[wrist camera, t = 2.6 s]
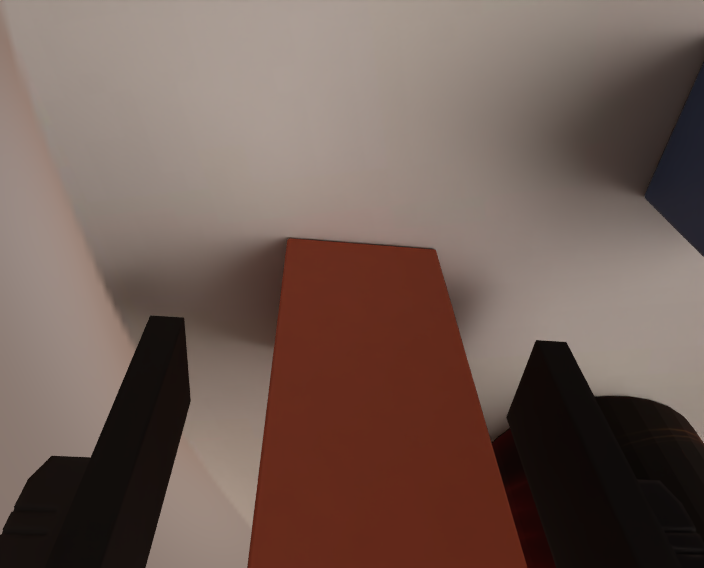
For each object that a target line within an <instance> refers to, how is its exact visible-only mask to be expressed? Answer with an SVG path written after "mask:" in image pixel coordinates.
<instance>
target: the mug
mask: <svg viewBox="0 0 704 568" xmlns="http://www.w3.org/2000/svg"><path fill="white" fill-rule="evenodd" d="M595 399H596V401H597V403H598V405H599V407H600V409H601V410H602V412H603V414H604V416H605V418H606V420H607V422H608V424H609V426H610V428H611V430H612V432H613V434H614V436H615V438H616V440H617V441H618V443H619V445H620V447H621V449H622V451H623V453H624V455H625V457H626V459H627V461H628V463H629V465H630V467H631V469H632V471H633V472H634V474H635V476H636V478H637V479H638V480H660V481H661V482H662V483H663V484H664V485H665V486H666V487H667V488H668V490H669V491H670V492H671V493H672V494H673V495H674V496H675V497H676V498H677V499H678V500H679V501H680V502H681V503H682V504H683V506H684V508H685V510H686V511H687V513H688V515H689V517H690V518H691V520H692V522H693V524H694V525H695V527H696V533H697V534H700V536H701V538H702V540H703V541H704V443H703V442H702V440H701V439H700V437H699V436H698V434H697V433H696V431H695V430H694V428H693V427H692V426H691V425H690V423H689V422H688V421H687V420H686V419H685V417H683V416H682V415H680V414H679V413H677V412H676V411H674V410H673V409H671V408H670V407H667V406H664V405H662V404H659V403H656V402H654V401H650V400H644V399H638V398H632V397H600V398H595ZM492 447H493V450H494V454H495V457H496V461H497V464H498V468H499V471H500V475H501V478H502V482H503V485H504V488H505V492H506V495H507V499H508V502H509V506H510V509H511V513H512V516H513V520H514V523H515V527H516V530H517V534H518V537H519V540H520V544H521V547H522V551H523V554H524V558H525V561H526V565H527V568H556V566H555V562H554V559H553V556H552V553H551V550H550V547H549V544H548V541H547V538H546V535H545V532H544V529H543V526H542V523H541V520H540V517H539V514H538V511H537V508H536V505H535V502H534V499H533V496H532V493H531V490H530V487H529V484H528V481H527V478H526V475H525V472H524V469H523V466H522V463H521V460H520V457H519V454H518V451H517V448H516V445H515V442H514V439H513V436H512V433H511V429H509V430H507V431H506V432H505V433H503V434H502V435H501V436H499V437H498V438H497V439H496V440H495V441H494V442H493V443H492Z"/></svg>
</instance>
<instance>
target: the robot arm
mask: <svg viewBox="0 0 704 568" xmlns="http://www.w3.org/2000/svg"><path fill="white" fill-rule="evenodd" d="M190 401H191V399H190V386H189V373H188V360H187V347H186V334H185V321H184V318H182V317H167V316H151V315H150V317H149V320H148V322H147V324H146V327H145V329H144V332H143V334H142V336H141V339H140V341H139V344H138V346H137V348H136V351H135V353H134V356H133V358H132V360H131V363H130V365H129V367H128V370H127V372H126V375H125V377H124V380H123V382H122V384H121V387H120V389H119V391H118V394H117V396H116V399H115V401H114V403H113V406H112V408H111V410H110V413H109V416H108V418H107V420H106V423H105V425H104V427H103V430H102V432H101V434H100V437H99V439H98V442H97V444H96V446H95V449H94V451H93V453H92V456H91V458H89V457H66V456H51V457H50V458H49V459H48V460H47V461H46V462H45V463H44V464H43V465H42V466H41V467H40V468H39V469H38V470H37V471H36V472H35V473H34V474H33V475H32V476H31V477H30V478H29V479H28V480H27V483H26V484H25V486H24V488H23V490H22V493H21V494H20V496H19V498H18V500H17V502H16V504H15V506H14V511H13V512H11V514H10V516H9V518H8V520H7V522H6V524H5V526H4V528H3V532H2V534H1V535H0V568H145V567H146V564H147V560H148V556H149V553H150V549H151V545H152V541H153V538H154V534H155V531H156V527H157V523H158V519H159V516H160V512H161V508H162V504H163V501H164V497H165V494H166V490H167V486H168V483H169V479H170V475H171V471H172V468H173V464H174V460H175V457H176V453H177V449H178V446H179V442H180V438H181V435H182V431H183V427H184V424H185V420H186V416H187V412H188V409H189V405H190ZM507 420H508V423H509V426H510V429H511V433H512V436H513V439H514V442H515V445H516V448H517V451H518V454H519V457H520V460H521V463H522V466H523V469H524V472H525V475H526V478H527V481H528V484H529V487H530V490H531V493H532V496H533V499H534V502H535V505H536V508H537V511H538V514H539V517H540V520H541V523H542V526H543V529H544V532H545V535H546V538H547V541H548V544H549V547H550V550H551V553H552V556H553V559H554V562H555V566H556V568H704V541H703V540H702V538H701V536H700V534H697V533H696V527H695V525H694V524H693V522H692V520H691V518H690V517H689V515H688V513H687V511H686V510H685V508H684V506H683V504H682V503H681V502H680V501H679V500H678V499H677V498H676V497H675V496H674V495H673V494H672V493H671V492H670V491H669V490H668V488H667V487H666V486H665V485H664V484H663V483H662V482H661V481H660V480H638V479H637V478H636V476H635V474H634V472H633V471H632V469H631V467H630V465H629V463H628V461H627V459H626V457H625V455H624V453H623V451H622V449H621V447H620V445H619V443H618V441H617V440H616V438H615V436H614V434H613V432H612V430H611V428H610V426H609V424H608V422H607V420H606V418H605V416H604V414H603V412H602V410H601V409H600V407H599V405H598V403H597V401H596V399H595V397H594V395H593V393H592V391H591V389H590V387H589V385H588V383H587V381H586V379H585V378H584V376H583V374H582V372H581V370H580V368H579V366H578V364H577V362H576V360H575V358H574V356H573V354H572V352H571V350H570V348H569V347H568V345H567V343H566V342H556V341H540V340H536V342H535V344H534V347H533V350H532V352H531V355H530V357H529V360H528V363H527V365H526V368H525V370H524V373H523V376H522V378H521V381H520V383H519V386H518V389H517V391H516V394H515V396H514V399H513V401H512V404H511V407H510V409H509V412H508V414H507Z"/></svg>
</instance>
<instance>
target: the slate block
mask: <svg viewBox="0 0 704 568" xmlns="http://www.w3.org/2000/svg"><path fill="white" fill-rule="evenodd" d="M645 199H646V200H647V201H648V202H649V203H650V204H651V205H652V206H653V207H654V208H655V209H656V210H657V211H658V212H659V213H660V214H661V215H662V216H663V217H664V218H665V219H666V220H667V221H668V222H669V223H670V224H671V225H672V226H673V227H674V228H675V229H676V230H677V231H678V232H679V233H680V234H681V235H682V236H683V237H684V238H685V239H686V240H687V241H688V242H689V243H690V244H691V245H692V246H693V247H694V248H695V249H696V250H697V251H698V252H699V253H700V254H701V255H702V256H703V257H704V62H703V65H702V67H701V69H700V71H699V74H698V76H697V78H696V80H695V83H694V85H693V87H692V89H691V92H690V94H689V96H688V98H687V101H686V103H685V105H684V107H683V110H682V112H681V114H680V116H679V119H678V121H677V123H676V125H675V128H674V130H673V132H672V135H671V137H670V139H669V141H668V144H667V146H666V148H665V150H664V153H663V155H662V157H661V159H660V162H659V164H658V166H657V168H656V171H655V173H654V175H653V177H652V180H651V182H650V184H649V186H648V189H647V191H646V193H645Z"/></svg>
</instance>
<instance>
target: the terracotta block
mask: <svg viewBox="0 0 704 568" xmlns="http://www.w3.org/2000/svg"><path fill="white" fill-rule="evenodd" d="M247 568H527V565H526V561H525V558H524V554H523V551H522V547H521V544H520V540H519V537H518V534H517V530H516V527H515V523H514V520H513V516H512V513H511V509H510V506H509V502H508V499H507V495H506V492H505V488H504V485H503V482H502V478H501V475H500V471H499V468H498V464H497V461H496V457H495V454H494V450H493V447H492V443H491V440H490V436H489V433H488V430H487V426H486V423H485V419H484V416H483V412H482V409H481V405H480V402H479V398H478V395H477V391H476V388H475V384H474V381H473V378H472V374H471V371H470V367H469V364H468V360H467V357H466V353H465V350H464V346H463V343H462V339H461V336H460V333H459V329H458V326H457V322H456V319H455V315H454V312H453V308H452V305H451V301H450V298H449V294H448V291H447V287H446V284H445V281H444V277H443V274H442V270H441V267H440V263H439V260H438V256H437V253H436V250H433V249H420V248H408V247H395V246H382V245H369V244H356V243H343V242H330V241H317V240H304V239H291V238H289V239H288V240H287V246H286V254H285V262H284V271H283V279H282V287H281V295H280V304H279V312H278V320H277V328H276V336H275V345H274V353H273V361H272V369H271V378H270V386H269V394H268V402H267V410H266V419H265V427H264V435H263V443H262V452H261V460H260V468H259V476H258V484H257V493H256V501H255V509H254V517H253V525H252V534H251V542H250V551H249V558H248V567H247Z"/></svg>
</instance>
